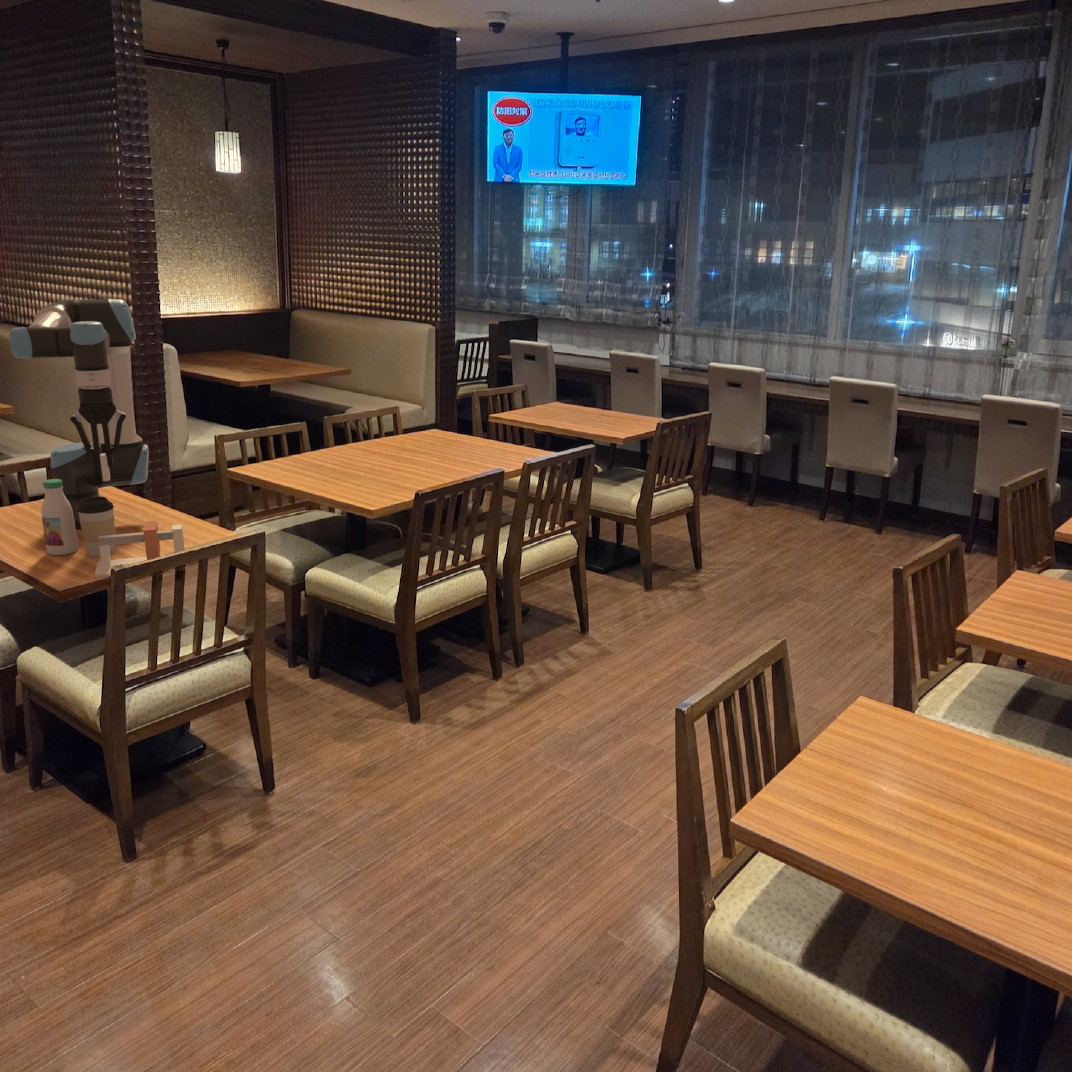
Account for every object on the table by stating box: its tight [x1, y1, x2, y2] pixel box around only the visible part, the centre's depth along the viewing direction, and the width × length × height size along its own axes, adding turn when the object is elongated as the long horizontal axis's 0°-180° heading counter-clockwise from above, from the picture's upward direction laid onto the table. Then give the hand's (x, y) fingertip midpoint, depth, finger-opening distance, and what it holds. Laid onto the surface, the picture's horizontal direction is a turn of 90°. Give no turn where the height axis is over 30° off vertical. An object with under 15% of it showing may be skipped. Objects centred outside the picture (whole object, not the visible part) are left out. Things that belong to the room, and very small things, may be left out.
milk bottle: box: [41, 478, 79, 556], centre depth 258 cm, size 8×8×20 cm
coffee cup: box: [77, 495, 116, 558], centre depth 258 cm, size 9×9×15 cm
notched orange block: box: [142, 520, 161, 560], centre depth 249 cm, size 8×3×8 cm, turn 19°
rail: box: [94, 523, 188, 578], centre depth 249 cm, size 11×22×10 cm, turn 109°
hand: (106, 479), depth 242 cm, fingers closed
